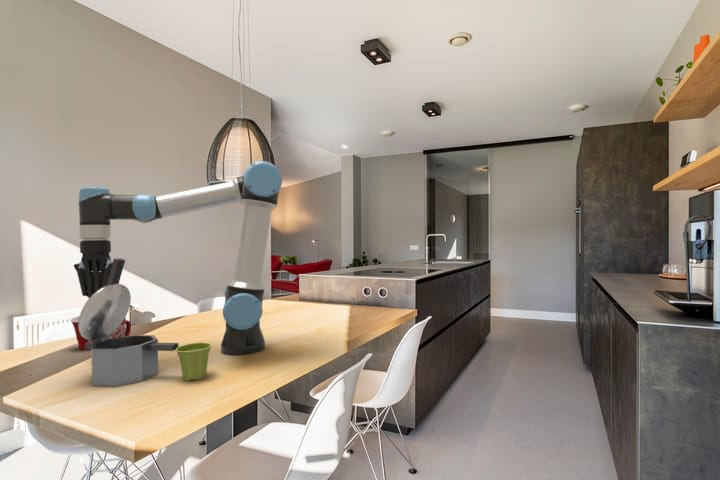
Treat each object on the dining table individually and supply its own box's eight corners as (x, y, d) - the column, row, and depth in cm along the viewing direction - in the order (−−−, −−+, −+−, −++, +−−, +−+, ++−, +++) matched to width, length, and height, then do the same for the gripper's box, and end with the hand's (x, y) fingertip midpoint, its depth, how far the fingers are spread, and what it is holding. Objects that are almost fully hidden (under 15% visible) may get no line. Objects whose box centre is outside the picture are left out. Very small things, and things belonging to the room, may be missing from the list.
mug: (111, 363, 125) (110, 322, 125) (88, 362, 127) (87, 321, 127) (141, 352, 138) (140, 314, 138) (119, 351, 140) (119, 314, 140)
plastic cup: (63, 352, 140) (62, 319, 140) (85, 344, 151) (84, 313, 151) (92, 352, 140) (91, 318, 140) (112, 344, 151) (111, 313, 151)
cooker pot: (192, 368, 118) (191, 335, 118) (157, 388, 103) (156, 350, 103) (110, 366, 123) (109, 334, 123) (64, 385, 107) (64, 348, 107)
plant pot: (189, 385, 104) (189, 353, 104) (169, 379, 109) (168, 348, 109) (219, 375, 112) (218, 344, 112) (198, 370, 117) (198, 341, 117)
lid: (143, 259, 122) (135, 256, 122) (98, 262, 105) (89, 259, 105) (122, 335, 123) (114, 332, 123) (74, 350, 106) (65, 347, 106)
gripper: (124, 239, 117) (126, 317, 117) (87, 240, 119) (88, 317, 119) (104, 239, 110) (106, 322, 110) (64, 240, 112) (66, 322, 112)
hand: (97, 319), depth 114 cm, fingers closed
